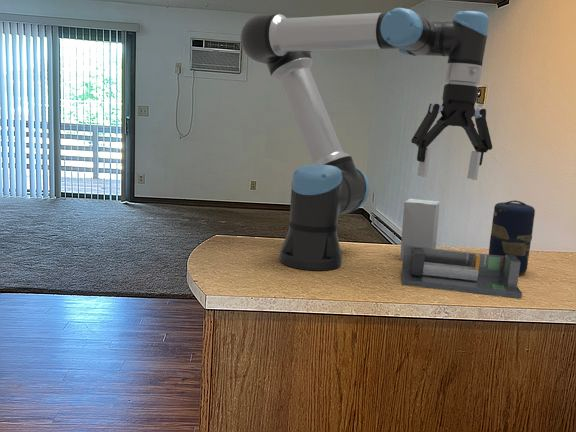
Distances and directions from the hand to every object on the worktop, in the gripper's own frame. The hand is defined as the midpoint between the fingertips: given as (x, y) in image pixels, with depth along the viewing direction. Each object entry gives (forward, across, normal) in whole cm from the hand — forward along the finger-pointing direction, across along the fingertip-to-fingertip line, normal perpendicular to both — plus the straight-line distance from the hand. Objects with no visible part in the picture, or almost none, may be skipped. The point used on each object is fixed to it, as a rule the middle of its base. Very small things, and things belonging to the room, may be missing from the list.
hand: (447, 177), depth 131 cm
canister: (+23, +21, 0) cm, 31 cm away
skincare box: (+24, +3, +12) cm, 27 cm away
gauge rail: (+23, +1, -9) cm, 24 cm away
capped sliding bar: (+21, -2, -7) cm, 23 cm away
